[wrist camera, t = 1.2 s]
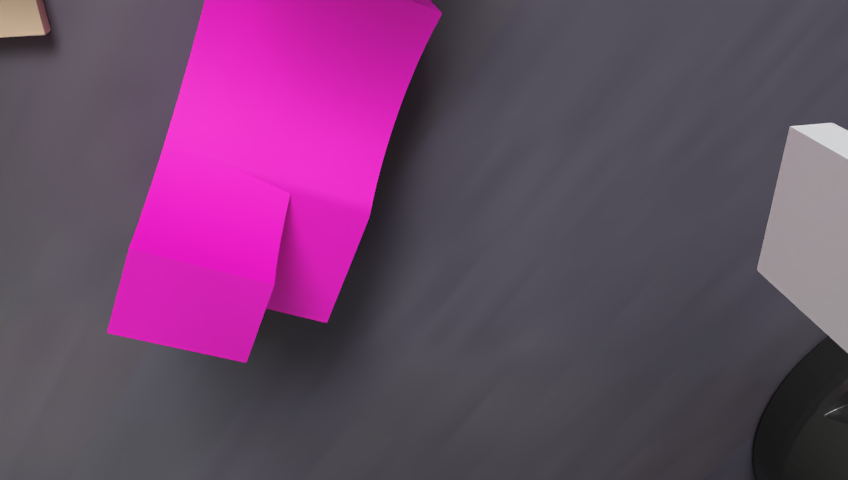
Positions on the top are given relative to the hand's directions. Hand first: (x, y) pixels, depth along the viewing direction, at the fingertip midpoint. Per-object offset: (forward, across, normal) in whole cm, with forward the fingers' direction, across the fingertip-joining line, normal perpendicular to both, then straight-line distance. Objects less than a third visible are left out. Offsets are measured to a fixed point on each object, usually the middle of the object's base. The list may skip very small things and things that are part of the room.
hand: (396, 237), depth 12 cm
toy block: (+15, +1, 0) cm, 15 cm away
